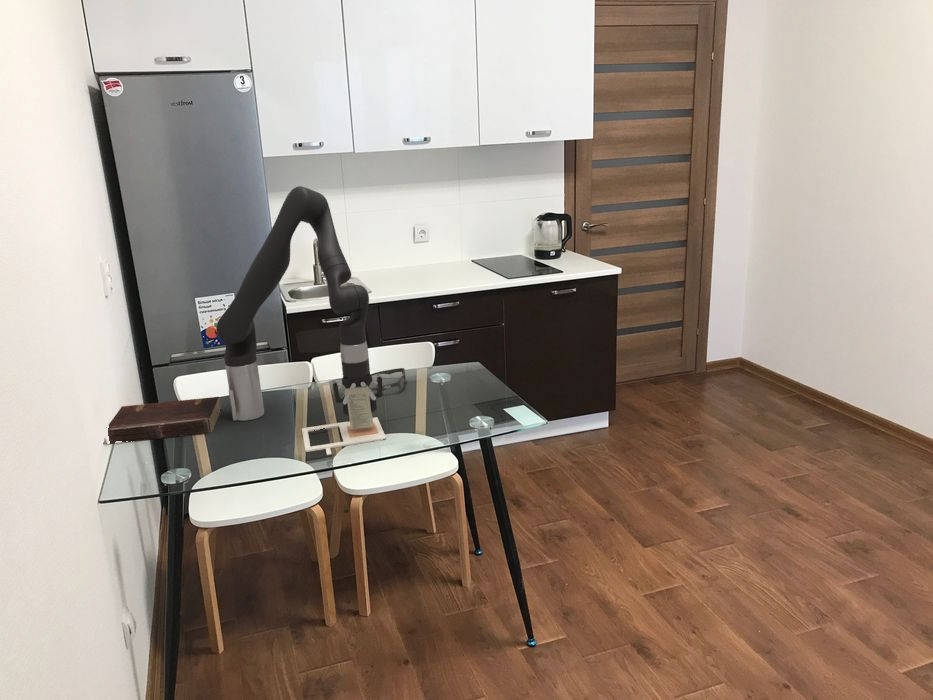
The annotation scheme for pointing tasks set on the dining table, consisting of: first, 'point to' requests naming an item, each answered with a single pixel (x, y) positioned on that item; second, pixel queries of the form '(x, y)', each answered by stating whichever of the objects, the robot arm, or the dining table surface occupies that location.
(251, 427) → the dining table surface
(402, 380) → the sunglasses
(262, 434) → the dining table surface
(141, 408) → the hardback book
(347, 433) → the window card
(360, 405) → the skincare box
